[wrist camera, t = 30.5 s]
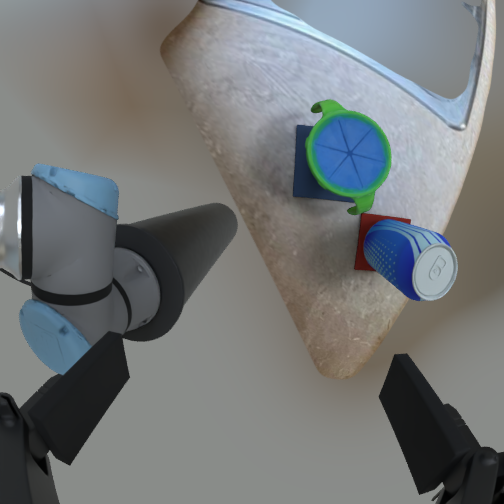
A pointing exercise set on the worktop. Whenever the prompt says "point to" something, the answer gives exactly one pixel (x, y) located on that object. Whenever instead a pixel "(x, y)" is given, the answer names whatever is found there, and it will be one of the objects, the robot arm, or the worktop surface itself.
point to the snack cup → (348, 154)
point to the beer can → (411, 259)
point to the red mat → (365, 226)
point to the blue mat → (308, 172)
